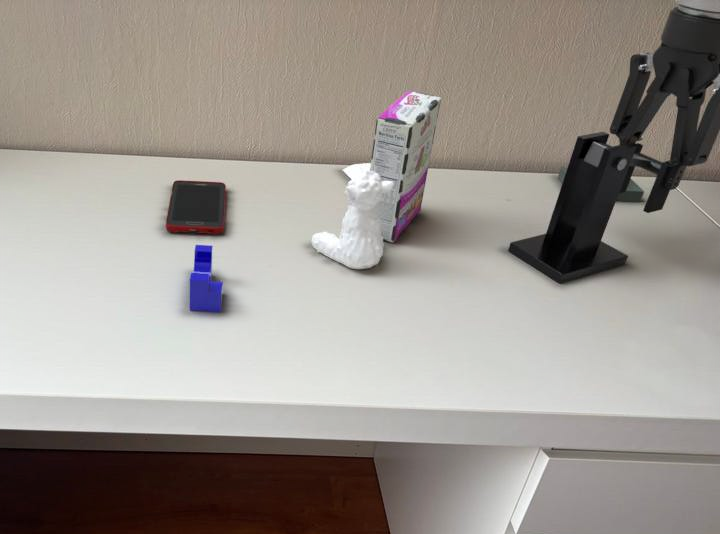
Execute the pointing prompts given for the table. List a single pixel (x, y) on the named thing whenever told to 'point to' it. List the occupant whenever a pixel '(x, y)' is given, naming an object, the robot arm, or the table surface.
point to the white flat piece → (356, 169)
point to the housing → (631, 193)
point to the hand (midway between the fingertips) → (634, 200)
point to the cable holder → (204, 282)
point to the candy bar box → (404, 158)
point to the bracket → (581, 216)
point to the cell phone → (196, 207)
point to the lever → (637, 160)
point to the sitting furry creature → (358, 224)
